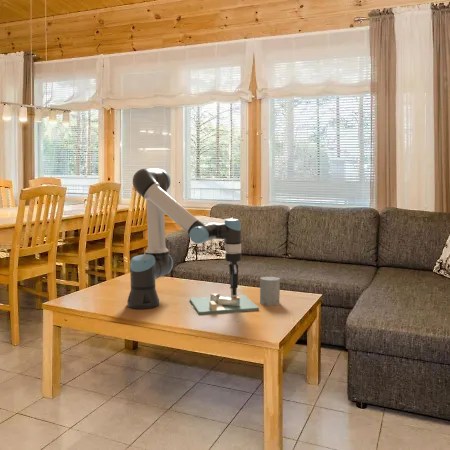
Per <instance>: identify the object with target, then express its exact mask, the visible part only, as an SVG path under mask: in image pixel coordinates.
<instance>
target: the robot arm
mask: <svg viewBox="0 0 450 450" xmlns="http://www.w3.org/2000/svg"><path fill="white" fill-rule="evenodd" d="M132 185H133V188H134V189H135V192H136V193H138V195H140V197H142V198H143V199H145V200H146V219H147V220H146V221H147V224H146V227H147V248H146V249H145V251H144V252H145V253H144V254H139V255H135V256H133V257H132V258H131V259H130V264H129V269H130V270H129V271H130V292H129V293H128V297H127V304H126V305H127V307H128V308H131V309H135V310H136V309H137V310H146V309H147V310H149V309H153V308H156V307H158V306H159V305H160V298H159V295H158V291H157V289H156V280H157V279H159V278H162V277H165V276H167V275H168V274H170V272H171V271H172V270H173V266H174V260H173V258H172V256H171V255H170V252H169V249H168V248H167V246H166V245H167V244H166V227H165V226H166V223H165V222H166V221H165V220H166V219H165V218H166V217H165V215H166V216H167V217H169V218H170V219H171V220H172V221H173V222H174V223H175V224H177V225H178V226H179V227H180V228H181V229H182V230H183V231H185V232H186V233H187V234H188V235H189V238H190V240H191V242H192V243H195V244H204V243H206V242H210V241H211V240H224V245H223V248H224V249H225V254H224V257H225V259H224V261H226V262H228V269H229V271H228V272H229V285H230V286H229V289H230V296H231V298H233V297H237V295H238V284H239V282H238V280H239V264H238V262H240V261H242V225H241V224H242V223H241V220H240V219H238V218H226V219H225V220H224V223H221V222H211V221H210V222H209V221H208V222H201V221H200V220H199V219H198V218H197V217H195V216H194V215H193V214H192V213H190V212H189V211H188V210H187V209H186V208H185V207H184V206H182V204H180V203H179V201H177V200H175V199H174V198H173V196H171V195H169V194H168V189H169V188H170V186H171V177H170V175H169V174H168V172H167V171H166V170H164V169H161V168H156V167H155V168H140V169H139V170H137V171H136V172H135V173H134V175H133V177H132Z"/></svg>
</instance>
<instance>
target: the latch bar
mask: <svg viewBox="0 0 450 450" xmlns="http://www.w3.org/2000/svg"><path fill="white" fill-rule="evenodd" d="M220 296H221V295H220V293H217V292H214V293H210V295H209V297H210V301H214V302H215V303H216V304H221V305H230V306H239V305H240V299H239V297H233V298H228V297H220Z"/></svg>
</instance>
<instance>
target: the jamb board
mask: <svg viewBox="0 0 450 450" xmlns="http://www.w3.org/2000/svg"><path fill="white" fill-rule="evenodd" d="M220 297H228V298H231V295H220ZM237 297H239V299H240V305H239V306H230V305H221V304H216V303H215V302H214V301H210V296H206V297H205V296H202V297H190V298H189V302H190V303H191V305H192V306H193V308H194V309H195V311H196V312H197V314H198V315H212V314H213V315H214V314H227V313H239V312H254V311H260V308H259V306H258V305H257V304H255V303H254V302H253V301H252V300H251V299H250V298H249V297H247V296H246V294H237Z"/></svg>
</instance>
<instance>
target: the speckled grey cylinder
mask: <svg viewBox="0 0 450 450" xmlns="http://www.w3.org/2000/svg"><path fill="white" fill-rule="evenodd" d="M280 281H281V278H280V277H279V276H274V275H266V276H265V275H263V276H260V278H259V282H260V284H259V286H260V287H259V304H260V305H262V306H267V307H268V306H270V307H272V306H278V305H280V297H281V295H280V290H281V289H280V287H281V283H280Z"/></svg>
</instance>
